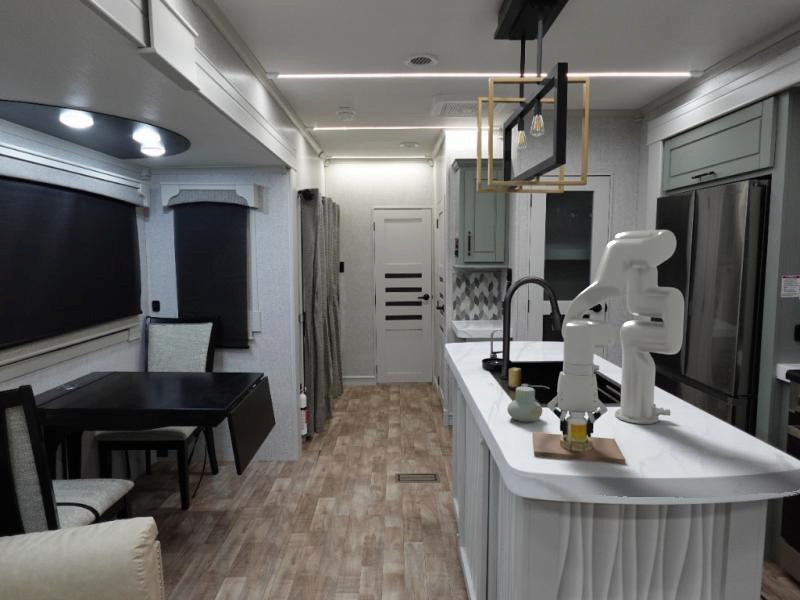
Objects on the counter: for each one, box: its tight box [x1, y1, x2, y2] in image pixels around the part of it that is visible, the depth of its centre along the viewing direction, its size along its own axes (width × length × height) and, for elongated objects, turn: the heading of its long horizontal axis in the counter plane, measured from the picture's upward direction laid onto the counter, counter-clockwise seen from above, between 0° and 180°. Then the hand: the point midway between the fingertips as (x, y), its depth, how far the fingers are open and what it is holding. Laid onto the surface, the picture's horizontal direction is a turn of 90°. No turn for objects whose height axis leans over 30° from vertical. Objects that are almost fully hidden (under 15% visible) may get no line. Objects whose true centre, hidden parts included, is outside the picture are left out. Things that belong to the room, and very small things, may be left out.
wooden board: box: [532, 432, 626, 465], centre depth 131 cm, size 22×14×3 cm, turn 76°
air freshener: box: [506, 386, 543, 423], centre depth 155 cm, size 11×8×10 cm
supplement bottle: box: [565, 411, 588, 444], centre depth 130 cm, size 5×5×10 cm
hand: (576, 433), depth 130 cm, fingers open, 5 cm apart
